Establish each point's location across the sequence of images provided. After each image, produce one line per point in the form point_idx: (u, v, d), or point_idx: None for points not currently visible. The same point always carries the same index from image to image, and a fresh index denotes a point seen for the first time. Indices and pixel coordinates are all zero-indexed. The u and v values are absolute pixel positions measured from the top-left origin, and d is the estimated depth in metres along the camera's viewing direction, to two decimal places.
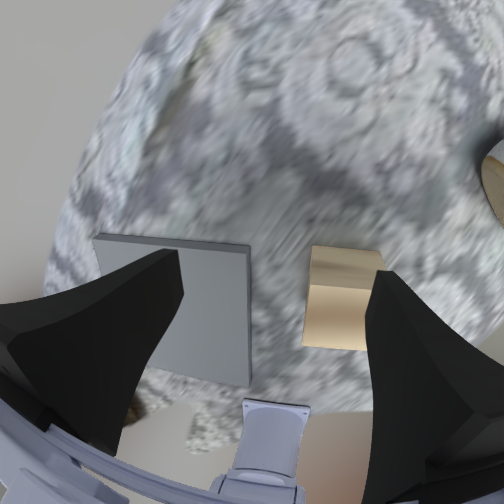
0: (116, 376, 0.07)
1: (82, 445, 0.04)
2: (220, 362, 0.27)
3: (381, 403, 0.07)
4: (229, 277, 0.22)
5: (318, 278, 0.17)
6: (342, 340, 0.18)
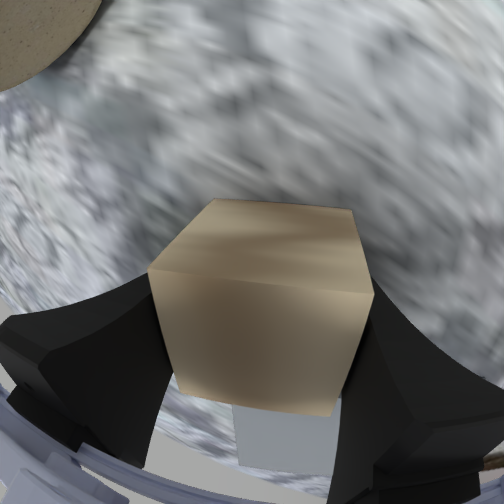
0: (146, 386, 0.07)
1: (82, 445, 0.04)
2: None
3: (346, 402, 0.07)
4: None
5: None
6: (318, 364, 0.07)
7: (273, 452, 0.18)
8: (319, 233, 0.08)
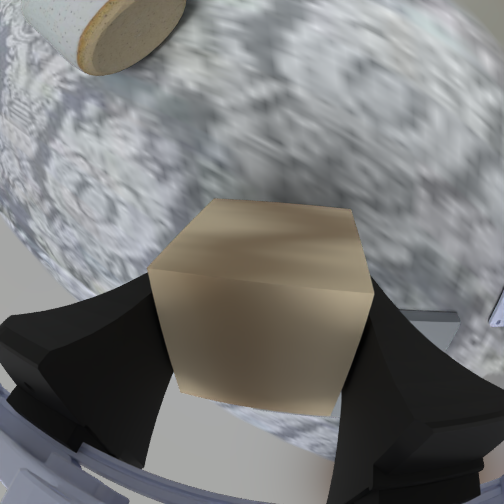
0: (146, 386, 0.07)
1: (82, 445, 0.04)
2: None
3: (346, 402, 0.07)
4: None
5: None
6: (318, 364, 0.07)
7: None
8: (318, 233, 0.08)
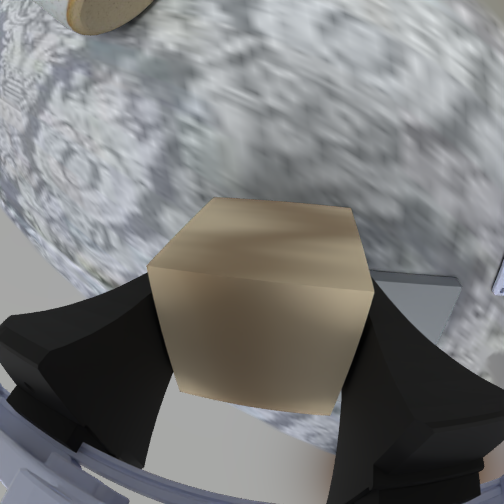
0: (146, 386, 0.07)
1: (82, 445, 0.04)
2: (408, 316, 0.18)
3: (346, 402, 0.07)
4: None
5: None
6: (318, 363, 0.07)
7: None
8: (318, 231, 0.08)
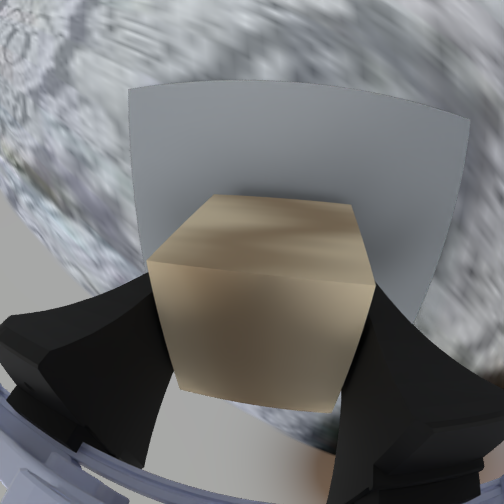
0: (146, 386, 0.07)
1: (82, 445, 0.04)
2: (392, 160, 0.11)
3: (346, 402, 0.07)
4: (165, 110, 0.12)
5: None
6: (319, 359, 0.07)
7: None
8: (319, 227, 0.08)
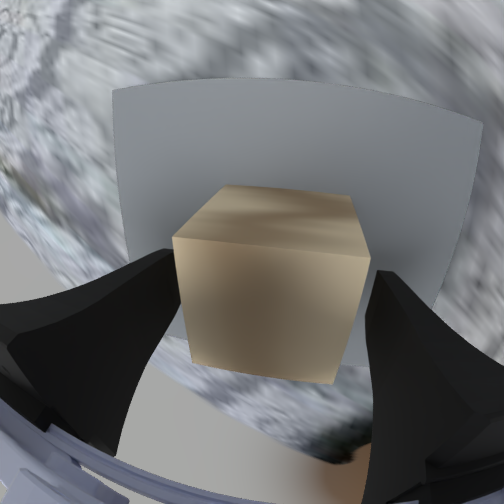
0: (116, 376, 0.07)
1: (82, 445, 0.04)
2: (399, 166, 0.10)
3: (381, 403, 0.07)
4: (151, 112, 0.11)
5: None
6: (322, 327, 0.08)
7: None
8: (321, 213, 0.09)
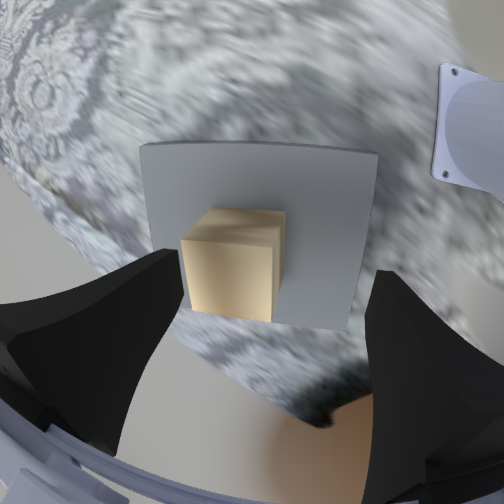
0: (116, 376, 0.07)
1: (82, 445, 0.04)
2: (315, 191, 0.17)
3: (381, 403, 0.07)
4: (165, 162, 0.19)
5: None
6: (256, 284, 0.16)
7: None
8: (260, 224, 0.17)
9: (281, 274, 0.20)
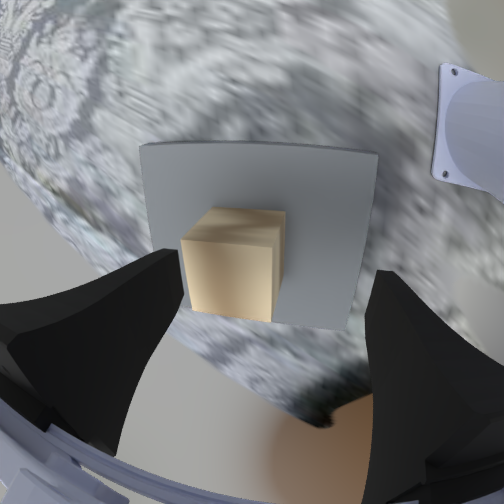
0: (116, 376, 0.07)
1: (82, 445, 0.04)
2: (315, 191, 0.17)
3: (381, 403, 0.07)
4: (165, 162, 0.19)
5: None
6: (256, 284, 0.16)
7: None
8: (260, 224, 0.17)
9: (281, 274, 0.20)
